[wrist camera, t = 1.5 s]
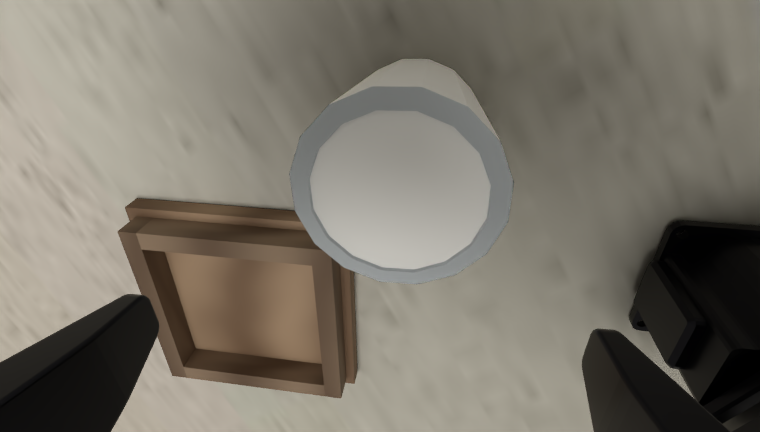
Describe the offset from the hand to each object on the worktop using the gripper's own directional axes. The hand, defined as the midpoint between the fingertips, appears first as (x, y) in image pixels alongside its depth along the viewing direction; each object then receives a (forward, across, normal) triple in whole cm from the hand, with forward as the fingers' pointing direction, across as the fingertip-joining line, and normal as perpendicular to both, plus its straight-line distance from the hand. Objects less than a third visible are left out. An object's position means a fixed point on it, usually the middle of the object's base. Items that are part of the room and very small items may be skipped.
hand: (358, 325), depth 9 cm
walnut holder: (+12, +9, +11) cm, 19 cm away
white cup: (+12, 0, 0) cm, 12 cm away
